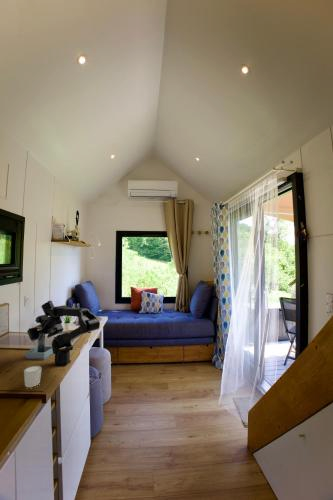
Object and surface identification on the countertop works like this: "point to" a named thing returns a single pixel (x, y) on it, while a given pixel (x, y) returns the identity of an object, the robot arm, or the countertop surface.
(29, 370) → the white cup
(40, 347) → the pin
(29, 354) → the pin tray
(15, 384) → the countertop surface
